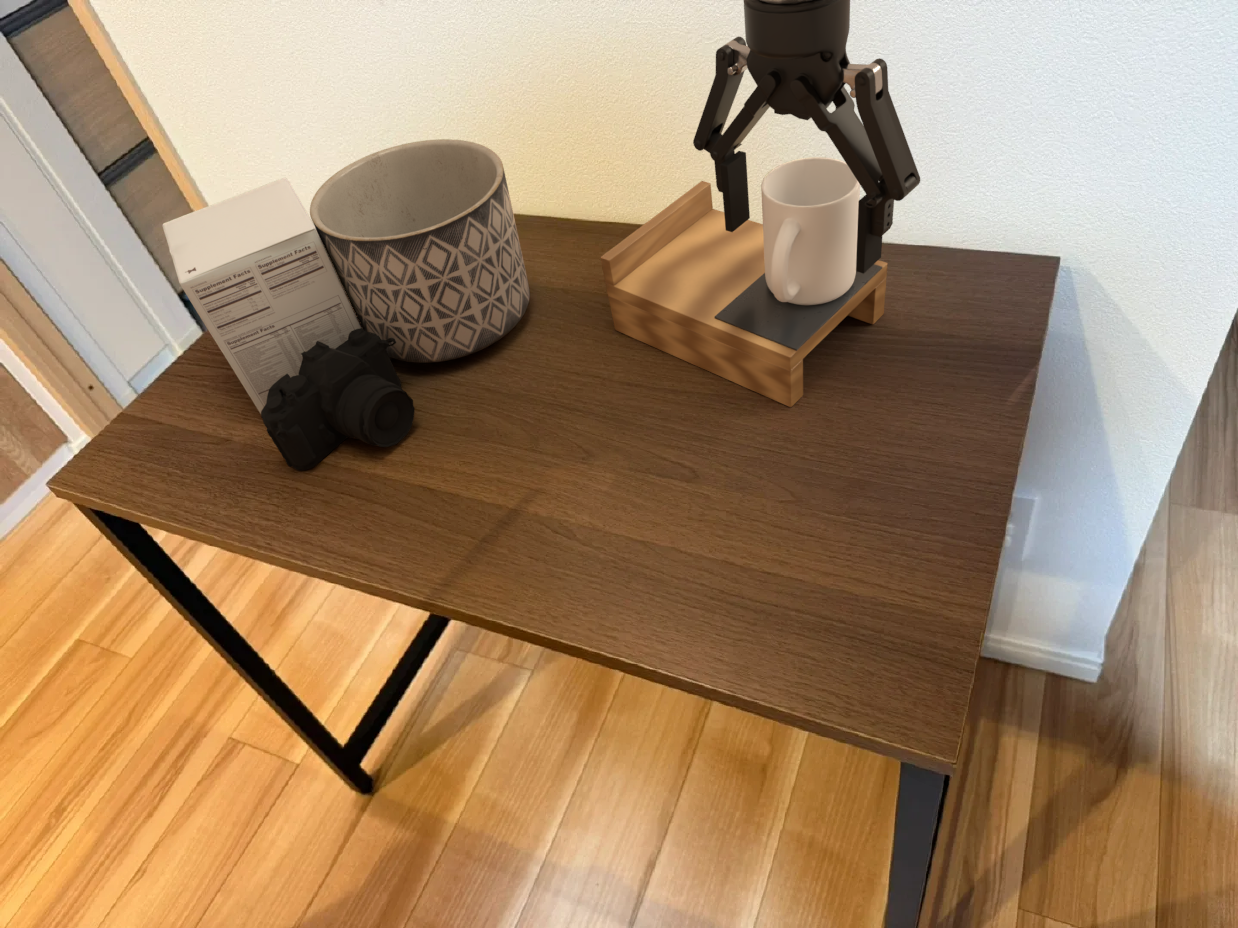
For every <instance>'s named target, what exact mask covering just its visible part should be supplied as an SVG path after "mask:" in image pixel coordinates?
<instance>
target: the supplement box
mask: <svg viewBox="0 0 1238 928" xmlns="http://www.w3.org/2000/svg"><path fill="white" fill-rule="evenodd" d="M162 229H163V232H164V236H165V238H166V239H165V240H166V242H167V245H168V249H169V250H168V251H169V254H170V256H171V259H172V262H173V266H174V269H175V272H176V273H175V274H176V276H177V279H178V283H179V285H180V287H181V288H182V290H183V292H184V294H185V295H186V297H187V298H188V300H189V301H190V303H191V305H192V306H193V308H194V310H195V311H196V313H197V314H198V317H199V318H200V320H201V321H202V323H203V324H204V326H205V328H206V329H207V331H208V332H209V334H210V335H211V337H212V339H213V340H214V342H215V343H216V345H217V346H218V348H219V350H220V351H221V352H222V354H223V356H224V357H225V359H226V361H227V362H228V364H229V366H230V367H231V369H232V371H233V372H234V374H235V375H236V377H237V379H238V380H239V382H240V383H241V385H242V386H243V389H244V390H245V391H246V393H247V395H248V396H249V397H250V400H251V401H252V403H253V405H254V406H255V408H256V410H257V411H258V412H259V415H261V411H262V409H263V408H264V406H265V405H266V401H267V395H268V392H269V389H270V388H271V386H272V385H273V384H274V383H276V382H277V381H278V380H279V379H280V378H281V377H283V376H284V375H286V374H288V375H289V376H290V377H292V376H296V375H299V370H300V366H301V363H302V359H303V357H302V355H301V353H303V352H304V351H305V352H307V351H308V350H309V349H311V348H312V347H313V346H314V345H315V344H316V342H317V341H319V342H322V343H324V344H326V345H328V346H329V347H330V348H333V349H336V348H337V347H338V346H339V345H341V344H343V343H344V342H345V341H347V340H348V336H349V334H350V332H351V331H353V330H355V329H360V328H362V327H361V324H360V322H359V320H358V318H357V316H356V314H355V312H354V309H353V307H352V305H351V303H350V301H349V299H348V297H347V294H346V292H345V290H344V288H343V286H342V284H341V282H340V279H339V277H338V275H337V273H336V271H335V269H334V266H333V264H332V262H331V260H330V258H329V256H328V254H327V251H326V249H325V247H324V245H323V243H322V241H321V239H320V236H319V234H318V232H317V230H316V228H315V226H314V224H313V221H312V219H311V216H310V215H309V213H308V212H307V210H306V208H305V206H304V205H303V203H302V201H301V199H300V198H299V196H298V194H297V192H296V191H295V189H294V188H293V186H292V184H291V182H290V181H289V180H288V178H287V177H282V178H280V179H277V180H274V181H271V182H269V183H266V184H264V185H263V184H262V185H261V186H258V187H256V188H253V189H250V190H248V191H244V192H243V193H240V194H237V195H234V196H232V197H229V198H227V199H224V200H221V201H218V202H216V203H213V204H211V205H208V206H205V207H202V208H200V209H198V210H194V211H192V212H189V213H187V214H183V215H182V216H179V217H176V218H174V219H171V220H169V221H166V222H163V224H162Z"/></svg>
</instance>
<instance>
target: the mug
mask: <svg viewBox="0 0 1238 928" xmlns="http://www.w3.org/2000/svg"><path fill="white" fill-rule="evenodd" d="M760 191H761V194H760V195H761V214H762V215H761V216H762V224H763V240H764V263H765V277H766V282H767V286H768V287H769V289H770V291H771V292H772V293H773V294H774V296H775V298H776V299H777V300H779V301H781V302H789V303H792V304H797V305H818V304H823V303H827V302H830V301H832V300H835V299H837V298H839V297H840V296H842V295H843V294H844V293H846V292H847V291H848V290H849V288H850V287H851V286H852V284H853V282H854V279H855V275H856V255H857V230H858V204H859V200H860V199H861V198H860V197H861V196H860V195H861V185H860V184H859V182H858V181H857V179H856V178H855V176H854V174H853V173H852V171H851V170H850V168H849V167H848V165H847V164H846V162H845V161H844V160H841V159H836V158H833V157H826V156H825V157H824V156H809V157H801V158H796V159H792V160H789V161H786V162H783V163H781V164H779V165H777V166H774V167H773V168H772V169H770V170H769V171H768V172H767V173H766V174H765V176H763V178H762V181H761V185H760Z"/></svg>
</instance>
